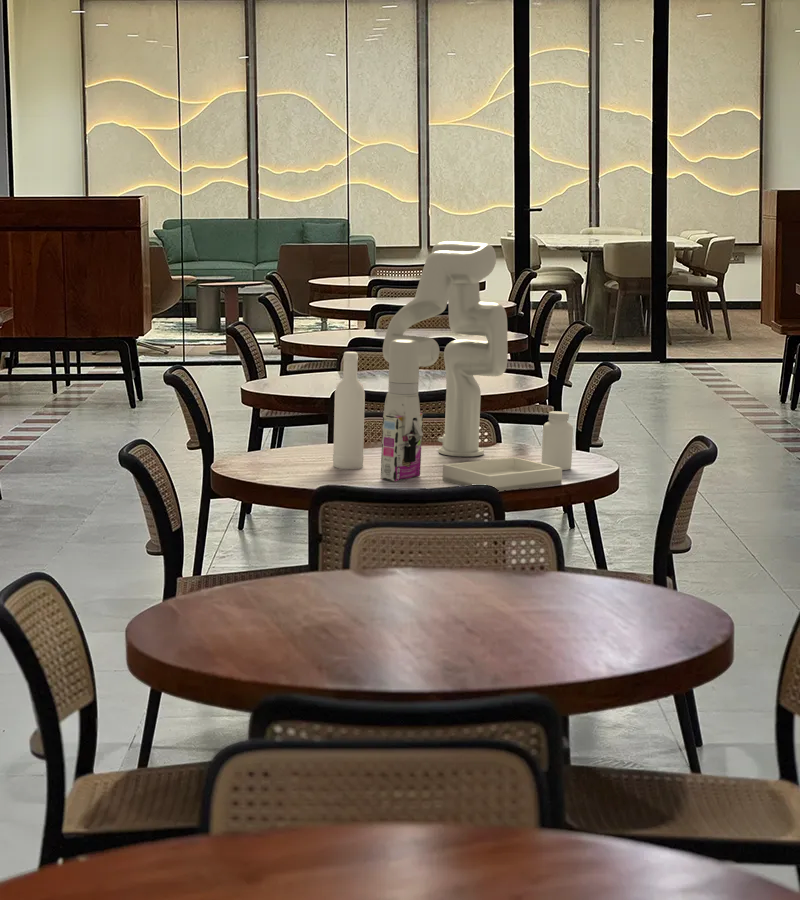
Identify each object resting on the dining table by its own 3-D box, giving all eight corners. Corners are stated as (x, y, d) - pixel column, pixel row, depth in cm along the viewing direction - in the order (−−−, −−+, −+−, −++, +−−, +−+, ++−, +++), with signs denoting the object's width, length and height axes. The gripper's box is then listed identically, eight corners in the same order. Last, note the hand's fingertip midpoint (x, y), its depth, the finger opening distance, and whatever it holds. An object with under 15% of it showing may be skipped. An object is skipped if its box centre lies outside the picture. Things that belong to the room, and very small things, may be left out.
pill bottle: (571, 466, 422) (573, 411, 419) (571, 471, 414) (574, 415, 411) (541, 465, 422) (543, 409, 420) (541, 470, 414) (543, 413, 412)
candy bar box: (396, 482, 391) (397, 417, 388) (379, 479, 394) (381, 415, 391) (421, 476, 400) (423, 412, 397) (406, 473, 403) (407, 410, 400)
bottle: (367, 465, 413) (370, 351, 408) (356, 470, 406) (359, 354, 401) (339, 463, 416) (341, 350, 411) (328, 467, 409) (330, 352, 404)
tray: (442, 480, 396) (443, 464, 395) (514, 472, 410) (514, 457, 410) (489, 492, 382) (489, 476, 381) (561, 483, 396) (562, 468, 396)
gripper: (370, 385, 397) (369, 455, 401) (412, 394, 384) (410, 466, 387) (394, 383, 402) (392, 453, 405) (436, 392, 388) (434, 464, 392)
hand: (401, 459), depth 396 cm, fingers closed on candy bar box, 6 cm apart
